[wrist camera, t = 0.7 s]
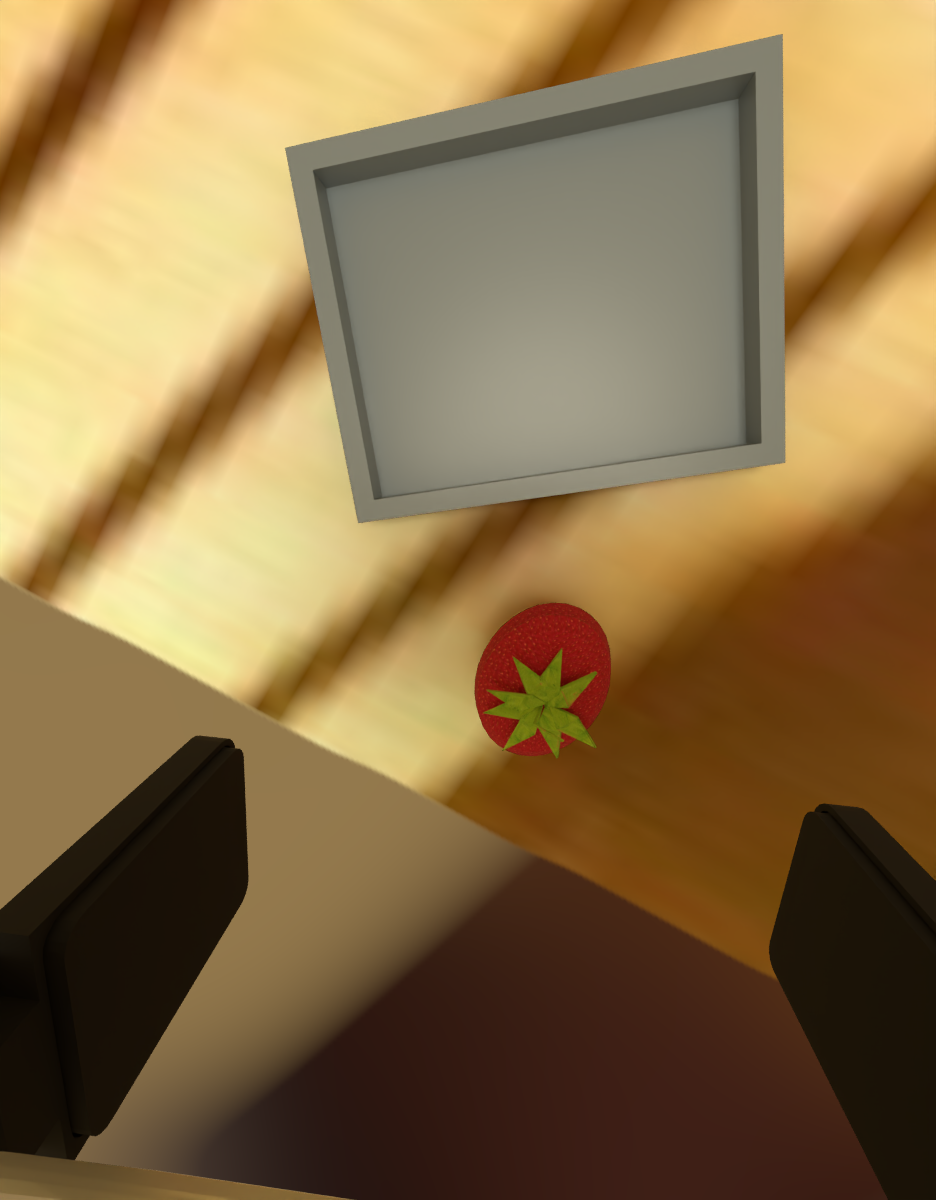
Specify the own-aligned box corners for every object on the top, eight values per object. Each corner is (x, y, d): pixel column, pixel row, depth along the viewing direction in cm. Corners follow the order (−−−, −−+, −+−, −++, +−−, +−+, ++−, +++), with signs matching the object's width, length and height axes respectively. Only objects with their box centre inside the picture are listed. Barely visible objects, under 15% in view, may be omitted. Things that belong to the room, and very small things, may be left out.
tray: (761, 461, 27) (785, 462, 25) (370, 517, 30) (358, 523, 27) (755, 77, 23) (782, 34, 21) (306, 176, 26) (284, 148, 23)
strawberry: (618, 604, 30) (666, 676, 20) (554, 718, 32) (570, 833, 22) (518, 557, 30) (520, 608, 20) (461, 675, 32) (436, 772, 22)
